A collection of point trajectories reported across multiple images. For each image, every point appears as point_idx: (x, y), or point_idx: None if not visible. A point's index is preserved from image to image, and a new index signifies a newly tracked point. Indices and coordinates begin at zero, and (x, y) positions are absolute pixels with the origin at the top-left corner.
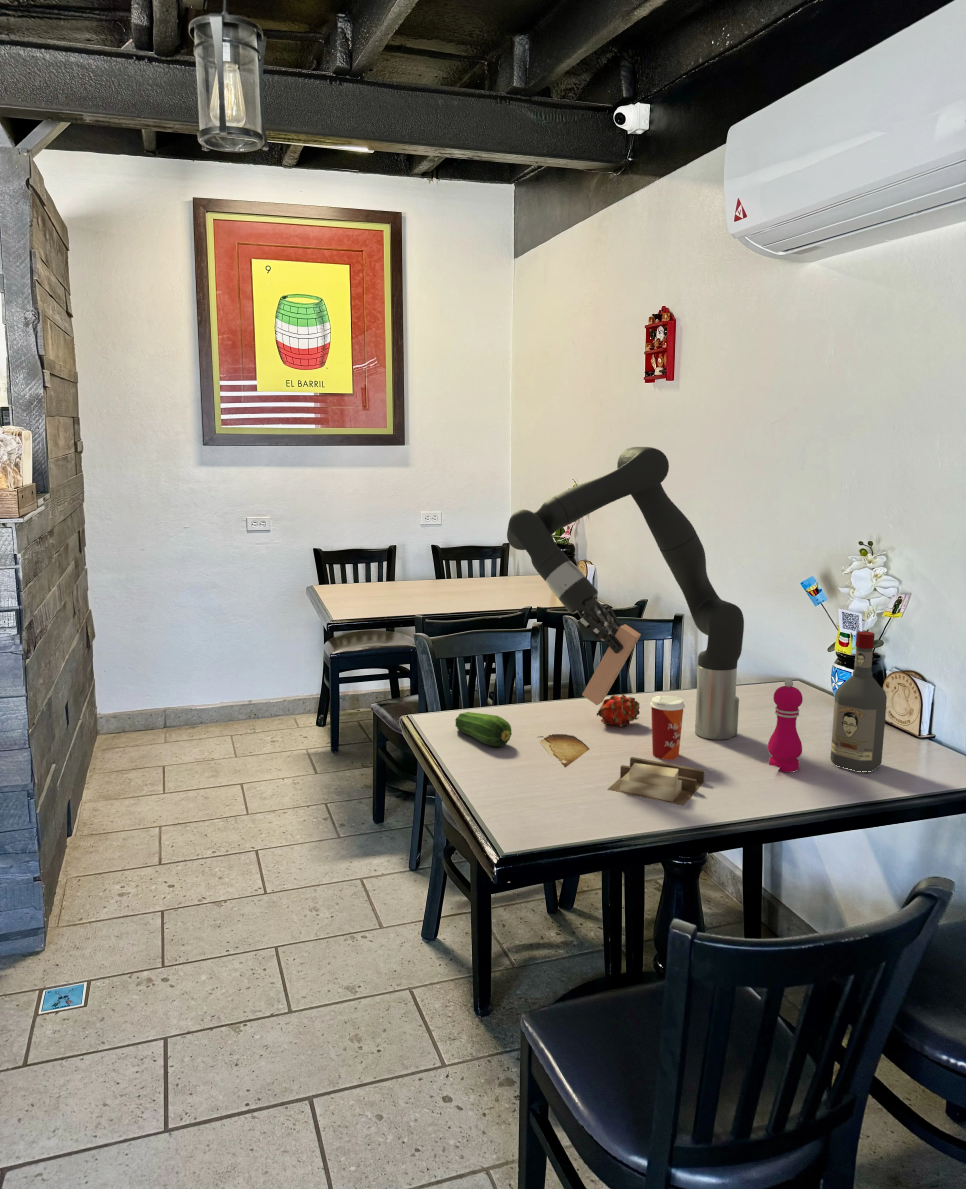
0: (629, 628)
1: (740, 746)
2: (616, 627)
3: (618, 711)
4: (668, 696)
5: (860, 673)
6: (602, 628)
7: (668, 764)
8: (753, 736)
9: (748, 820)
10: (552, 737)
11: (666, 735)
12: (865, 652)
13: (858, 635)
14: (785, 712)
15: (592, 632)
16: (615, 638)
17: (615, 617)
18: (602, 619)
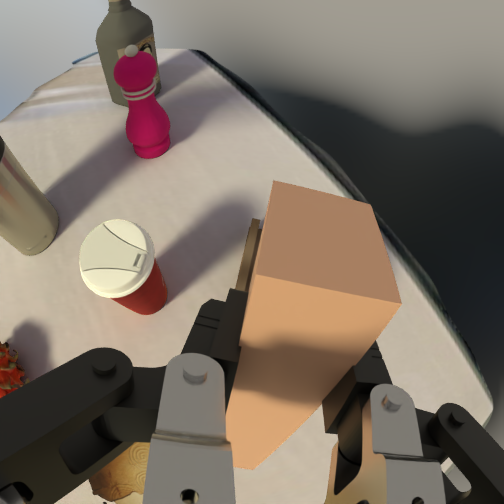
0: (303, 238)
1: (80, 193)
2: (217, 382)
3: (10, 376)
4: (86, 252)
5: (127, 4)
6: (466, 437)
7: (244, 273)
8: (46, 182)
9: (338, 182)
10: (106, 489)
11: (160, 275)
12: None
13: None
14: (154, 84)
15: (449, 494)
16: (368, 355)
17: (32, 405)
18: (439, 496)
